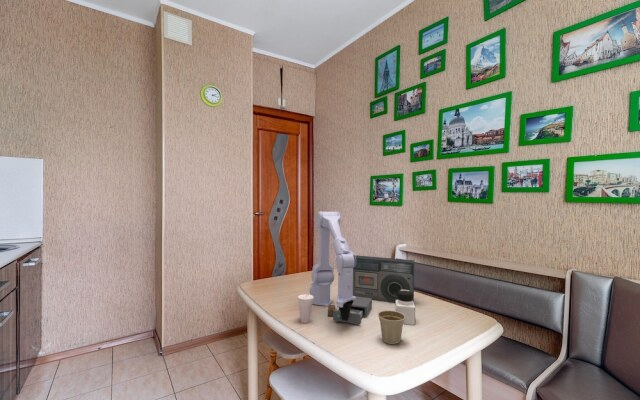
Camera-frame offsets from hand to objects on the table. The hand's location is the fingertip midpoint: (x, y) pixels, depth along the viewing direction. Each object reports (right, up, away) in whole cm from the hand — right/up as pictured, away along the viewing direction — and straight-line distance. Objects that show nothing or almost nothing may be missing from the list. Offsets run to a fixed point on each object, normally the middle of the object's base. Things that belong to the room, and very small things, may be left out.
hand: (345, 319), depth 112 cm
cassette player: (+21, -3, +32) cm, 38 cm away
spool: (-5, -2, +10) cm, 11 cm away
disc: (+3, -1, +7) cm, 7 cm away
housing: (+6, -3, +16) cm, 18 cm away
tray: (+3, -2, +7) cm, 7 cm away
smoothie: (-15, -2, +4) cm, 16 cm away
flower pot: (+15, -3, -11) cm, 19 cm away
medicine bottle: (+25, -3, +6) cm, 26 cm away
